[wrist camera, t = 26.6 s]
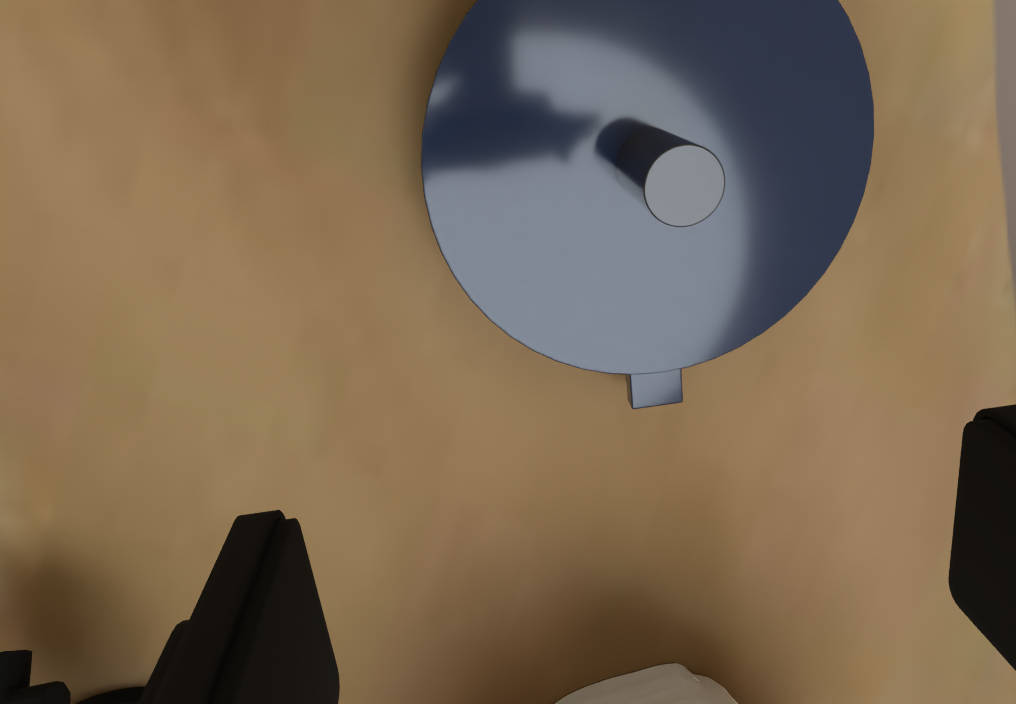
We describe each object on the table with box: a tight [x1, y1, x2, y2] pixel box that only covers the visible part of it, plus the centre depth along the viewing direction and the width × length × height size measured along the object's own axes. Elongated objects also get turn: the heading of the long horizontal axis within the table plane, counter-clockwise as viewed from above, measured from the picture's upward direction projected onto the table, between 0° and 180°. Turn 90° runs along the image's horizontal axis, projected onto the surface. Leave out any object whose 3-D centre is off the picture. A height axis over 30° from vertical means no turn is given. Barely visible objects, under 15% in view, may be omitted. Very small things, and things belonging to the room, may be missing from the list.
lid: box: [421, 0, 874, 375], centre depth 29 cm, size 18×18×6 cm
